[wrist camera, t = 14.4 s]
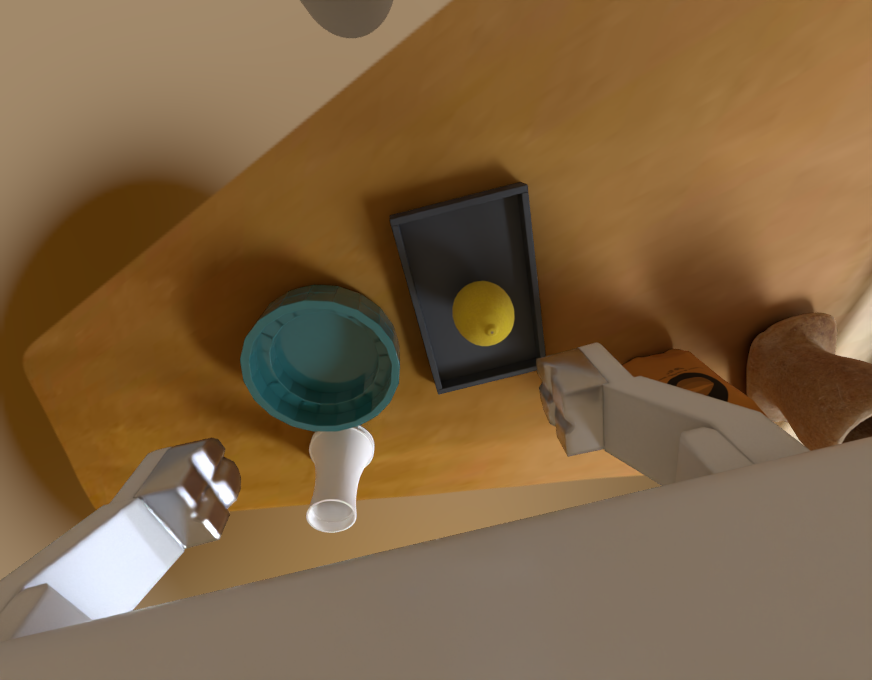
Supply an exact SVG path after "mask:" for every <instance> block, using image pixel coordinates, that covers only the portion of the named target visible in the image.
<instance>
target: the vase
mask: <svg viewBox="0 0 872 680" xmlns="http://www.w3.org/2000/svg"><path fill="white" fill-rule="evenodd" d="M309 453H310V457H311V459H312V461H313V462H314V463H315V469H316V481H315V489H314V493H313V497H312V500H311V503H310V506H309V508H308V511H307V514H306V518H307V521H308V523H309V524H310V525H311V526H312V527H313V528H315V529H317V530H320V531H323V532H331V533H333V532H340V531H343V530H346V529H348V528H349V527H351V526H352V525H353V524H354V523H355V521H356V517H357V515H356V493H357V487H358V482H359V479H360V476H361V473H362V471H363V469H364V468H365V467H366V466H367V465H368V464H369V463H370V462H371V460H372V458H373V455H374V440H373V438H372V436H371V434H370V433H369V432H368V431H367V430H366V429H365V428H363V427H362V426H358V427H354V428H350V429H346V430H342V431H338V432H337V431H336V432H317V431H316V432H315V433H314V435H313V437H312V439H311V443H310V447H309Z"/></svg>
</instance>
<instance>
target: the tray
mask: <svg viewBox="0 0 872 680" xmlns="http://www.w3.org/2000/svg"><path fill="white" fill-rule="evenodd" d="M390 224H391V226H392V231H393V234H394V238H395V241H396V245H397V249H398V252H399V256H400V259H401V263H402V267H403V270H404V274H405V277H406V281H407V284H408V288H409V292H410V295H411V299H412V302H413V306H414V310H415V313H416V317H417V320H418V324H419V327H420V331H421V335H422V338H423V342H424V345H425V349H426V353H427V356H428V360H429V363H430V367H431V370H432V374H433V378H434V381H435V385H436V388H437V392H438V394H442V393H446V392H451V391H455V390H459V389H463V388H467V387H471V386H475V385H479V384H483V383H487V382H491V381H495V380H499V379H504V378H508V377H512V376H516V375H520V374H524V373H528V372H532V371H536V370H537V367H536V360H537V359H538V358H542V357H546V354H545V345H544V335H543V326H542V317H541V307H540V298H539V289H538V279H537V270H536V261H535V251H534V242H533V233H532V223H531V214H530V205H529V195H528V186H527V184H524V183H522V182H518V183H515V184H511V185H507V186H503V187H499V188H495V189H491V190H487V191H483V192H479V193H475V194H472V195H468V196H464V197H460V198H456V199H452V200H448V201H444V202H440V203H436V204H432V205H429V206H425V207H421V208H417V209H413V210H409V211H405V212H401V213H397V214H393V215H390ZM476 281H488V282H491V283H494V284H496V285H498V286H499V287H501V288H502V289H503V290H504V291H505V292H506V293H507V295H508V296H509V297H510V299H511V302H512V304H513V307H514V324H513V327H512V329H511V332H510V333H509V334H508V336H507V337H506V338H505V339H504V340H502V341H501V342H499V343H497V344H495V345H491V346H479V345H475V344H473V343H471V342H469V341H468V340H467V339H465V338H464V337H463V336H462V335H461V334H460V332H459V331H458V329H457V328H456V326H455V323H454V320H453V311H452V308H453V303H454V300H455V298H456V296H457V294H458V293H459V291H460V290H461V289H462V288H463V287H465V286H466V285H468V284H470V283H473V282H476Z"/></svg>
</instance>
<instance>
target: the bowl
mask: <svg viewBox="0 0 872 680" xmlns="http://www.w3.org/2000/svg"><path fill="white" fill-rule="evenodd" d="M240 363H241V369H242V375H243V380H244V383H245V385H246V386H247V388H248V390H249V392H250V393H251V395H252V397H253V399H254V400H255V401H256V402H257V403H258V404H259V405H260V406H261V407H262V408H264V409H265V410H266V411H267V412H268V413H269V414H270V415H271V416H273V417H275V418H277V419H279V420H281V421H283V422H285V423H287V424H288V425H290V426H293V427H297V428H301V429H305V430H309V431H317V432H336V431H337V432H338V431H342V430H346V429H350V428H354V427H358V426H360V425H362V424H363V423H365V422H367V421H369V420H371V419H372V418H374V417H376V416H377V415H378V414H379V413H380V412H381V411H382V410H383V409H384V408H385V407H386V406H387V405H388V404H389V403H390V402H391V400H392V397H393V395H394V393H395V391H396V389H397V386H398V384H399V371H400V352H399V342H398V339H397V336H396V332H395V329H394V326H393V324H392V323H391V321H390V320H389V319H388V317H387V316H386V315H385V313H384V312H383V311H382V309H381V308H380V307H379V306H377V305H376V304H374V303H373V302H372V301H370V300H369V299H367V298H366V297H365V296H363V295H362V294H359V293H357V292H354V291H351V290H348V289H345V288H342V287H339V286H329V285H310V286H306V287H302V288H298V289H294V290H290V291H288V292H287V293H285V294H284V295H282V296H280V297H279V298H277V299H276V300H274V301H273V302H271V303H270V304H269V306H268V307H267V308H266V310H265V311H264V312H263V314H262V315H261V317H260V318H259V319H258V321H257V322H256V323H255V325H254V326H253V328H252V329H251V330H250V332H249V333H248V335H247V336H246V337H245V340H244V344H243V348H242V353H241V357H240Z"/></svg>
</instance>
